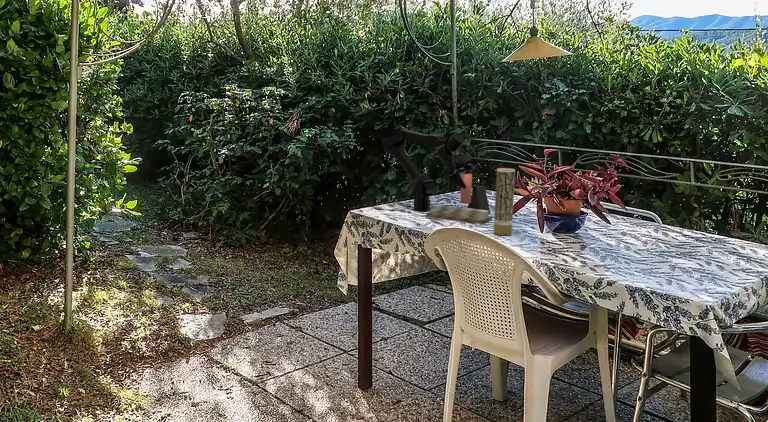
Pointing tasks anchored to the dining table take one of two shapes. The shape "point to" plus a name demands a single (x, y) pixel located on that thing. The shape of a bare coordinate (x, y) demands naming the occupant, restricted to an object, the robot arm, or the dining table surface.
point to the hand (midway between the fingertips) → (468, 187)
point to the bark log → (504, 201)
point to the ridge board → (458, 218)
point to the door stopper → (479, 199)
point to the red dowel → (467, 191)
